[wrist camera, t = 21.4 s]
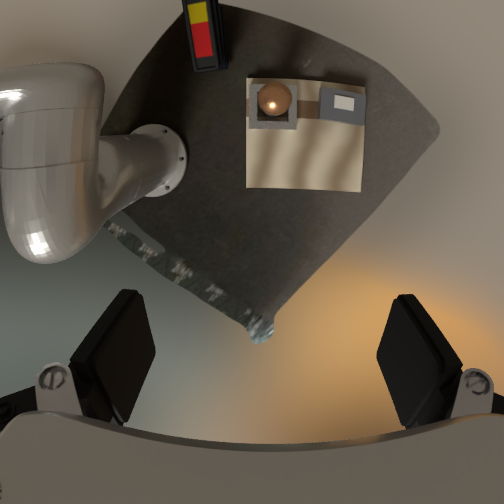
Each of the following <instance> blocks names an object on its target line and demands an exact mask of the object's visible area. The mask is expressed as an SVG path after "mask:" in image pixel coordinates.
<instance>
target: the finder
mask: <svg viewBox="0 0 504 504" xmlns="http://www.w3.org/2000/svg"><path fill="white" fill-rule="evenodd" d="M365 108H366V95H362V94H358V93H353V92H348V91H343V90H337V89H332V88H326V87H321V88H320V89H319V99H318V114H317V119H320V120H327V121H333V122H339V123H345V124H351V125H356V126H364V122H365Z"/></svg>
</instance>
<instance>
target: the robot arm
mask: <svg viewBox="0 0 504 504" xmlns="http://www.w3.org/2000/svg"><path fill="white" fill-rule="evenodd" d="M104 92H105V84H104V79H103V76H102V74H101V72H100V71H99V70H98V69H96V68H95V67H93V66H90V65H87V64H81V63H75V62H74V63H73V62H59V63H58V62H57V63H43V64H34V65H26V66H20V67H14V68H7V69H2V70H0V121H2V120H3V122H2V139H1V167H0V171H1V193H2V205H3V214H4V219H5V224H6V228H7V232H8V235H9V238H10V240H11V242H12V244H13V246H14V247H15V249H16V250H17V251H18V252H19V254H21V255H22V256H23V257H24V258H26V259H27V260H29V261H32V262H36V263H40V264H49V263H55V262H59V261H62V260H64V259H67V258H69V257H70V256H72V255H74V254H76V253H77V252H78V251H80V250H81V249H82V248H83V247H84V246H86V245H87V244H88V243H89V242H90V240H92V238H93V237H94V236H95V235H96V233H97V232H98V231H99V230H100V228H101V227H102V226H103V224H104V223H105V222H106V221H107V220H108V219H109V218H110V217H111V216H112V215H114V214H115V213H117V212H118V211H120V210H121V209H123V208H125V207H126V206H128V205H130V204H131V203H133V202H135V201H136V200H138V199H140V198H141V197H143V196H147V197H156V196H161V195H164V194H166V193H168V192H170V191H171V190H173V189H174V188H175V187H176V186H177V185H178V184H179V183H180V182H181V180H182V178H183V177H184V174H185V172H186V168H187V160H188V156H187V150H186V147H185V144H184V142H183V140H182V139H181V137H180V136H179V135H178V134H177V133H176V132H175V131H174V130H172V129H171V128H169V127H166V126H164V125H159V124H149V125H144V126H141V127H139V128H137V129H136V130H134V131H133V132H132V133H131V134H127V135H114V136H102V137H100V129H101V119H102V111H103V102H104ZM166 130H167V133H165V131H166ZM182 157H184V160H182ZM168 186H169V187H170V188H168ZM155 352H156V351H155V345H154V341H153V337H152V334H151V330H150V326H149V322H148V317H147V313H146V309H145V304H144V300H143V296H142V295H141V294H139V293H138V291H137V290H129V289H122V290H121V291H120V292H119V293H118V295H117V296H116V297H115V298H114V300H113V301H112V302H111V304H110V305H109V306H108V307H107V309H106V310H105V311H104V313H103V314H102V315H101V317H100V318H99V319H98V321H97V322H96V323H95V325H94V326H93V327H92V329H91V330H90V331H89V333H88V334H87V336H86V337H85V338H84V340H83V341H82V342H81V344H80V345H79V347H78V348H77V349H76V351H75V352H74V354H73V355H72V357H71V358H70V361H71V362H70V364H69V365H68V366H67V365H65V364H63V363H50V364H48V365H46V366H44V367H43V368H42V369H40V371H39V372H38V373H37V375H36V377H35V386H32V387H30V388H27V389H24V390H22V391H18V392H16V393H13V394H10V395H7V396H4V397H2V398H0V504H504V397H503V396H501V395H499V394H496V393H494V384H493V381H492V379H491V378H490V376H489V375H488V374H487V373H485V372H484V371H482V370H480V369H476V368H470V369H467V370H465V371H464V372H462V370H461V367H462V366H463V364H462V362H461V361H460V359H459V357H458V356H457V354H456V353H455V351H454V350H453V349H452V347H451V345H450V344H449V342H448V341H447V339H446V338H445V337H444V335H443V334H442V332H441V331H440V330H439V328H438V327H437V325H436V324H435V322H434V321H433V320H432V318H431V317H430V315H429V314H428V313H427V311H426V310H425V309H424V307H423V306H422V305H421V304H420V302H419V301H418V299H417V298H416V297H415V296H414V295H413V294H402V295H399V296H398V297H397V299H394V301H393V303H392V307H391V310H390V313H389V317H388V320H387V324H386V326H385V329H384V333H383V336H382V338H381V342H380V345H379V347H378V350H377V361H378V364H379V366H380V369H381V371H382V374H383V376H384V379H385V382H386V384H387V387H388V390H389V392H390V395H391V397H392V400H393V403H394V405H395V409H396V411H397V414H398V417H399V420H400V423H401V425H402V426H405V428H406V430H401V431H396V432H391V433H386V434H381V435H375V436H369V437H362V438H355V439H348V440H339V441H328V442H316V443H298V444H246V443H229V442H228V443H227V442H216V441H206V440H197V439H189V438H182V437H175V436H169V435H163V434H158V433H152V432H148V431H143V430H138V429H133V428H129V427H124V426H123V423H124V422H127V421H128V420H129V418H130V415H131V413H132V410H133V408H134V405H135V403H136V400H137V398H138V395H139V393H140V390H141V388H142V385H143V383H144V380H145V378H146V376H147V373H148V371H149V369H150V366H151V364H152V362H153V359H154V357H155Z"/></svg>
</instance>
